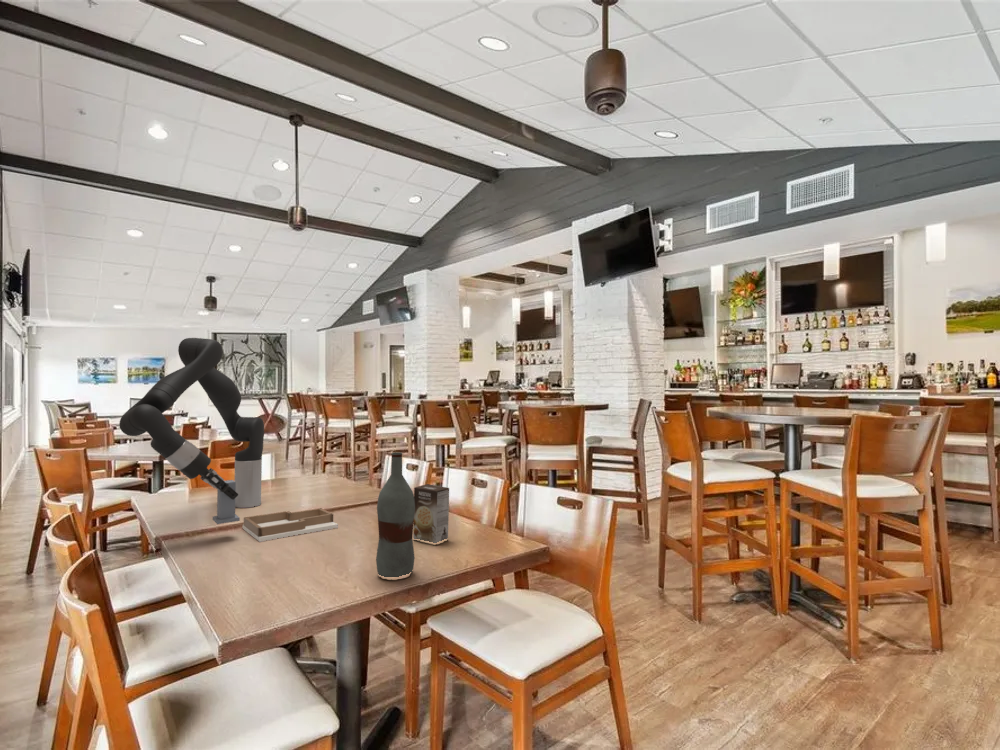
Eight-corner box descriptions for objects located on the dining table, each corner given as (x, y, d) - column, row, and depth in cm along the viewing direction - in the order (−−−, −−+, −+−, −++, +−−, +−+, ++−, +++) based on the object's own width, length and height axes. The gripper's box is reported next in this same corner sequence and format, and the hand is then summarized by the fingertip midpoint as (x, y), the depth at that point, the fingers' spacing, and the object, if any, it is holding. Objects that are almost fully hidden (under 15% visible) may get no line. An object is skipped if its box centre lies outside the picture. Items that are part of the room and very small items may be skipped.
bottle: (379, 584, 125) (381, 456, 125) (372, 571, 133) (374, 451, 133) (418, 578, 128) (420, 454, 129) (409, 566, 137) (410, 449, 137)
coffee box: (411, 540, 158) (412, 487, 159) (425, 535, 164) (426, 483, 164) (435, 546, 153) (436, 490, 154) (449, 540, 159) (450, 487, 159)
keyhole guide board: (242, 528, 169) (242, 516, 169) (316, 516, 185) (316, 506, 185) (259, 541, 156) (259, 529, 156) (337, 527, 171) (338, 516, 171)
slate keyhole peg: (212, 519, 158) (213, 481, 158) (234, 516, 162) (234, 479, 162) (217, 524, 154) (217, 484, 154) (239, 520, 158) (240, 482, 158)
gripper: (204, 451, 148) (250, 489, 156) (193, 446, 159) (237, 482, 167) (182, 473, 144) (230, 510, 152) (173, 465, 155) (218, 501, 163)
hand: (233, 495), depth 159 cm, fingers closed on slate keyhole peg, 4 cm apart
